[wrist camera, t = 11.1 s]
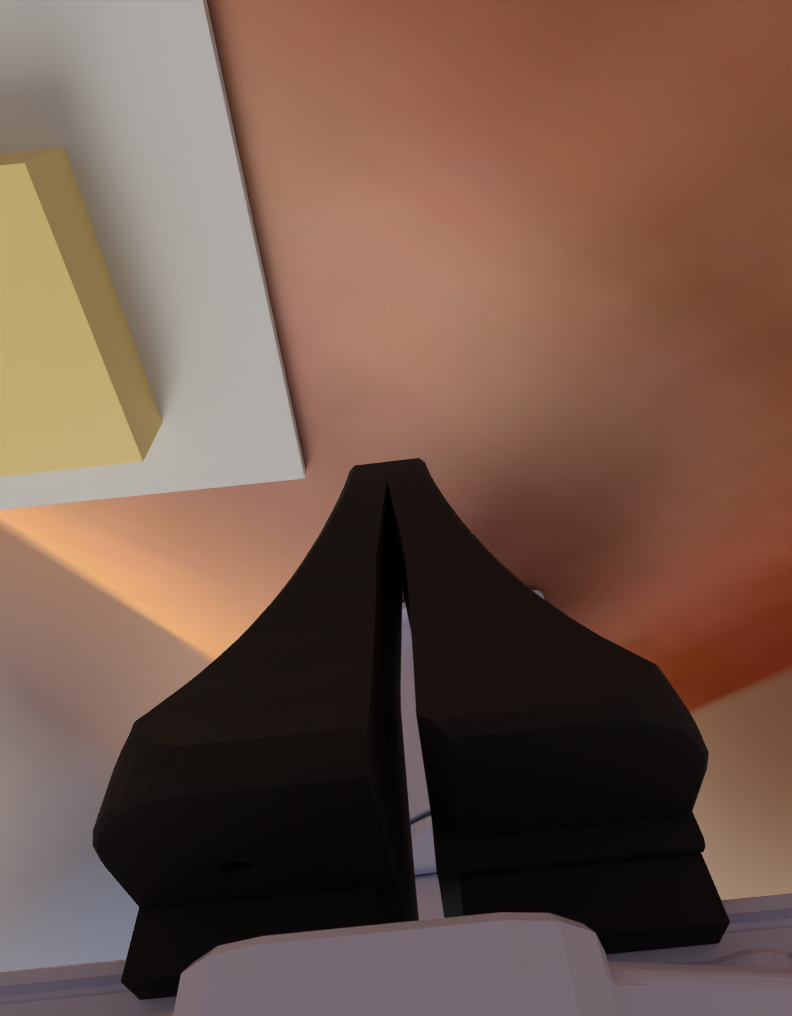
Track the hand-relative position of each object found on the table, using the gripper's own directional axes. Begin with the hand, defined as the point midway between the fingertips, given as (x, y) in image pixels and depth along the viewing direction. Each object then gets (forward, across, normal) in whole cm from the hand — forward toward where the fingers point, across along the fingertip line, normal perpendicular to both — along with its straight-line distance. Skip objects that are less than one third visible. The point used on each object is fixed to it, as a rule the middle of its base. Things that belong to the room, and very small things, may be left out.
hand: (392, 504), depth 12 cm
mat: (+10, +9, -2) cm, 13 cm away
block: (+8, +7, -2) cm, 11 cm away
